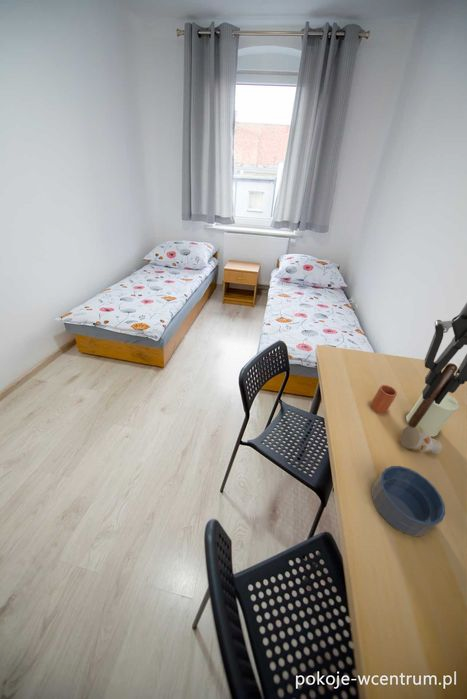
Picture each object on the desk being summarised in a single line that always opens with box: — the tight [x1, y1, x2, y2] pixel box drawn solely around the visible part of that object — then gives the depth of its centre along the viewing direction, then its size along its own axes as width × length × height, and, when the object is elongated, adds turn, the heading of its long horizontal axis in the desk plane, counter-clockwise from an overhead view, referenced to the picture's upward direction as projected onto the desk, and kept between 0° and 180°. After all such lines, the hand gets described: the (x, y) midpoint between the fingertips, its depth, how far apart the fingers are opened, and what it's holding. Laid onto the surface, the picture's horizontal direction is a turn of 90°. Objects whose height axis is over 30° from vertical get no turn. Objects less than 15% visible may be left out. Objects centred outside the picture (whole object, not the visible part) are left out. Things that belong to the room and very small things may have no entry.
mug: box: [400, 425, 442, 455], centre depth 78 cm, size 8×10×10 cm
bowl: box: [371, 465, 446, 537], centre depth 63 cm, size 13×13×6 cm
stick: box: [407, 362, 458, 428], centre depth 61 cm, size 2×2×19 cm
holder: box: [370, 384, 398, 415], centre depth 89 cm, size 5×5×8 cm
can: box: [405, 393, 460, 437], centre depth 84 cm, size 9×9×12 cm
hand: (430, 397), depth 61 cm, fingers closed on stick, 2 cm apart
